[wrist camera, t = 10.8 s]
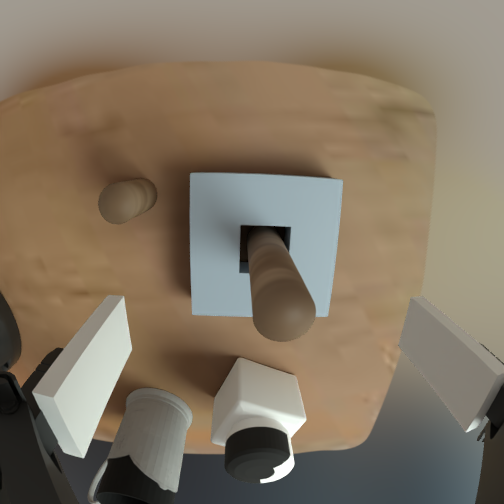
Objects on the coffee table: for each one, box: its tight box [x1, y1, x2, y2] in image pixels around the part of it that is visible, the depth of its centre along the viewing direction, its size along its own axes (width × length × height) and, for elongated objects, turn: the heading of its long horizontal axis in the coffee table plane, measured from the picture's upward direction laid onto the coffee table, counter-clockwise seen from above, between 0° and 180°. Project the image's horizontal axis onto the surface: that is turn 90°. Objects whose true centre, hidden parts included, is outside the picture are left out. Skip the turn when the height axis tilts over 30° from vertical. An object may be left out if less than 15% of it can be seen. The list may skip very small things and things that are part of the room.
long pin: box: [247, 226, 316, 342], centre depth 21 cm, size 3×3×14 cm
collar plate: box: [190, 172, 343, 317], centre depth 26 cm, size 12×12×3 cm
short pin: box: [98, 178, 157, 224], centre depth 23 cm, size 3×3×6 cm
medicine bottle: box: [211, 357, 306, 483], centre depth 27 cm, size 7×7×12 cm
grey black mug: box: [88, 388, 193, 504], centre depth 26 cm, size 9×14×15 cm, turn 125°
